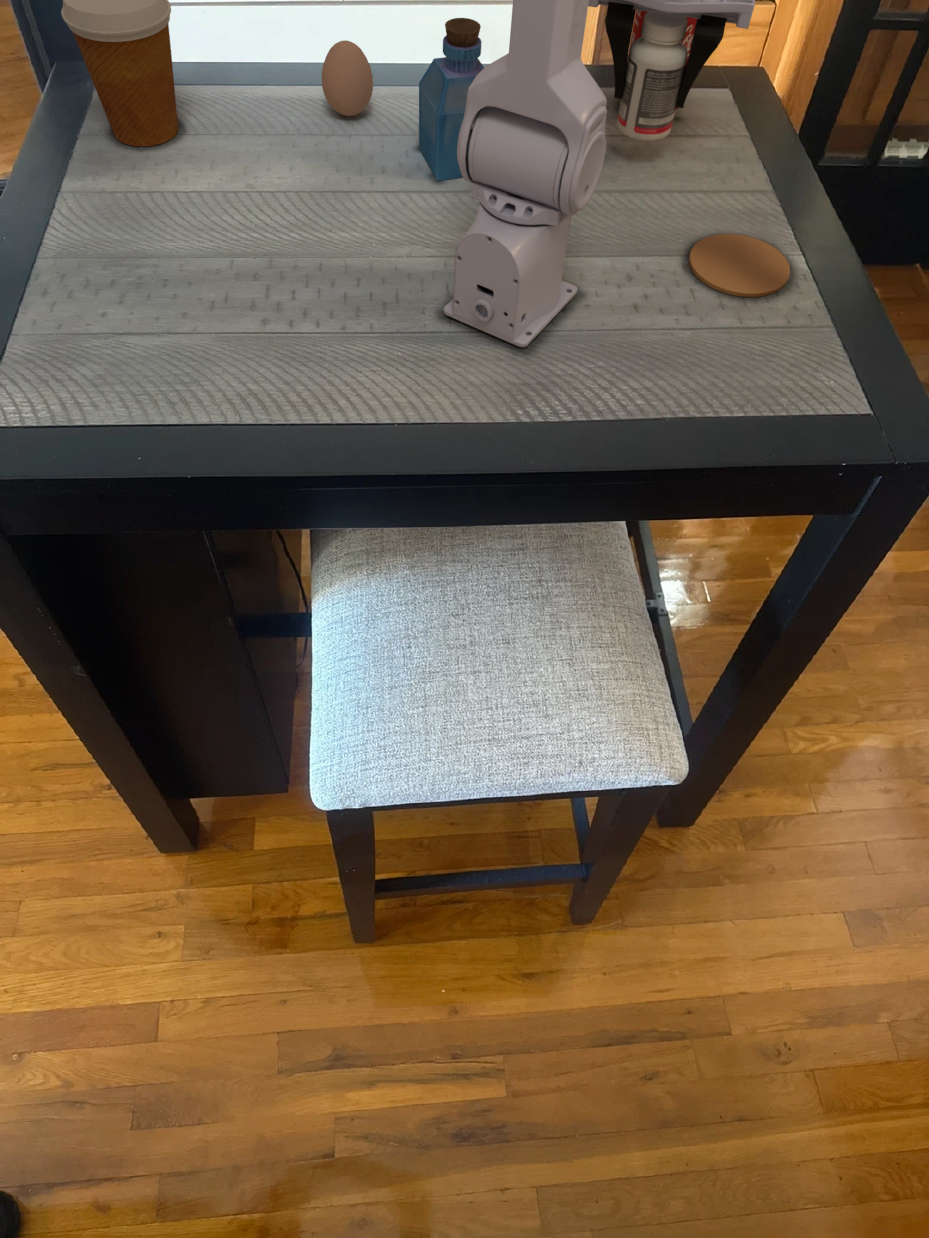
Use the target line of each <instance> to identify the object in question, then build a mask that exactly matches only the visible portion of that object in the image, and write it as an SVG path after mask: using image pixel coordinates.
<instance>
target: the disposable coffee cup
mask: <svg viewBox="0 0 929 1238" xmlns="http://www.w3.org/2000/svg"><path fill="white" fill-rule="evenodd" d="M171 13H172V6H171V3H170V1H169V0H62V8H61V10H60V14H61V17H62V19H63V22H64V23H65V24H66V25H67V27H68V28H69V30H70V31H71V32H72V34H73V37H74V39H75V42H76V44H77V47H78V49H79V51H80V54H81V56H82V59H83V61H84V64H85V66H86V69H87V71H88V74H89V76H90V78H91V81H92V84H93V86H94V89H95V91H96V93H97V96H98V99H99V101H100V103H101V106H102V108H103V112H104V113H105V116H106V118H107V120H108V123H109V126H110V128H111V131H112V133H113V136H114V138H115V139H116V140H117V141H118V142H120V143H122V144H125V145H128V146H133V147H153V146H157V145H161V144H164V143H166V142H168V141H170V140H172V139H173V138H174V137H175V136H176V135H177V134H178V132H179V121H178V113H177V100H176V99H177V98H176V89H175V78H174V70H173V68H174V67H173V58H172V57H173V55H172V47H171V36H170V28H169V27H170V26H169V25H170V24H169V23H170V21H171V20H170V19H171Z"/></svg>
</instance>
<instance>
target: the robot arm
mask: <svg viewBox="0 0 929 1238" xmlns="http://www.w3.org/2000/svg"><path fill="white" fill-rule="evenodd" d="M599 6H606V7H607V8H606V14H605V18H604V26H605V31H606V35H607V39H608V42H609V46H610V51H611V56H612V63H613V71H614V72H613V73H614V96H613V98H614V99H619V100H621V98H622V93H623V87H624V80H625V74H626V68H627V60H628V54H629V48H630V43H631V37H632V32H633V26H634V20H635V15H636V10H640V11H648V12H655V13H662V14H669V15H676V16H683V17H690V18H697V21H696V25H695V30H694V34H693V39H692V43H691V48H690V52H689V57H688V60H687V64H686V67H685V71H684V75H683V80H682V84H681V87H680V91H679V94H678V99H677V103H676V107H678V109H683V108H684V105H685V103H686V100H687V97H688V95H689V93H690V90H691V88H692V86H693V84H694V83H695V81H696V79H697V77H698V75H699V74H700V72H701V71H702V70H703V67H704V66H705V65H706V63H707V62H708V60H709V59H710V57H711V56H712V54H713V53H714V52H715V51H716V50H717V49H718V47H719V45H720V43H721V42H722V40H723V39H724V35H725V29H726V24H734V25H735V26H736V28H738V29H746V30H749V28H750V24H751V20H752V16H753V13H754V9H755V6H756V0H512V8H511V9H512V10H511V11H512V12H511V21H510V34H509V45H508V46H509V47H508V53H506V54H505V55H502V56H501V57H499V58H498V59H496V60H494V61H493V62H491V63H489V64H488V65H486V66H484V69H483V70H482V71H481V72H480V73H479V74H478V75H477V76H476V77H475V79H474V80H473V82H472V84H471V85H470V87H469V88H468V93H467V102H466V109H465V115H464V119H463V122H462V125H461V128H460V132H459V137H458V145H457V159H458V164H459V167H460V171H461V174H462V176H463V179H464V181H466V182H468V183H470V184H471V194H470V195H471V199H474V200H476V201H478V207H477V211H476V215H475V217H474V220H473V222H472V224H471V225H470V228H469V229H468V230H467V232H466V233H465V234H464V235H463V236H462V237H461V239H460V240H459V242H458V243H457V246H456V249H455V254H454V267H453V268H454V270H453V271H454V272H453V295H452V296H453V297H452V299H451V300H450V301H449V302H448V303H447V304H446V305H445V306H444V307H443V314H444V315H445V316H447V317H450V318H451V319H454V320H456V321H459V322H461V323H463V324H466V325H468V326H469V327H472V328H475V329H477V330H479V331H481V332H484V333H486V334H489V335H490V336H492V337H496V338H498V339H499V340H502V341H504V342H506V343H509V344H511V345H514V346H515V347H519V348H526V347H528V346H529V345H530V343H532V342H533V340H534V339H535V338H537V336H538V335H539V334H540V333H541V332H542V331H543V330H544V329H545V328H546V327H547V325H548V324H549V323H550V322H551V321H552V320H553V319H554V318H555V317H556V316H557V315H558V314H559V313H560V312H561V311H562V310H563V308H565V306H566V305H567V304H568V303H569V302H570V301H571V300H572V299H573V298H574V297H575V296H576V295H577V293H578V291H579V290H578V289H579V288H578V287H577V286H576V285H574V284H572V283H570V282H567V281H565V280H562V278H563V270H564V264H565V258H566V252H567V245H568V238H569V233H570V226H571V218H572V216H575V215H577V214H578V213H579V212H580V211H582V210H583V209H584V208H586V206H587V205H588V204H589V202H590V201H591V199H592V197H593V195H594V193H595V191H596V188H597V186H598V184H599V180H600V178H601V174H602V171H603V167H604V162H605V158H606V154H607V153H606V151H607V139H606V120H607V114H608V110H607V103H608V99H607V97H606V95H605V94H604V92H603V90H602V89H601V87H600V86H599V85H598V83H597V82H596V80H595V79H594V77H593V76H592V75H591V73H590V72H589V71H588V69H587V67H586V66H585V64H584V62H583V60H582V52H583V46H584V45H583V44H584V38H585V32H586V31H585V30H586V24H587V16H588V9H589V8H590V7H591V8H598V7H599Z"/></svg>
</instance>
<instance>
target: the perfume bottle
mask: <svg viewBox="0 0 929 1238" xmlns="http://www.w3.org/2000/svg"><path fill="white" fill-rule="evenodd" d="M481 27H482V26H481V23H480V22H478V21H477V20H475V19H472V18H467V17H454V18H451V19H449V20H447V21H445V23H444V28H445V34H446V35H445V36H443V39H442V54H443V55H444V56H445V57H435V58H433V59H432V61H431V63H430V64H429V66H428V68H427V69H426V71H425V72H424V74H423V75H422V77H421V79H420V81H419V82H418V149H419V151H420V153H421V155H422V157H423V159H424V160H425V163H426V164H427V166H428V168H429V169H430V171H431V173H432V175H433V176H434V178H435V180H436V181H437V182H440V181H447V180H455V179H462V178H463V176H462V174H461V171H460V167H459V164H458V159H457V145H458V137H459V132H460V128H461V125H462V122H463V119H464V115H465V109H466V102H467V93H468V88H469V87H470V85H471V84H472V82H473V80H474V79H475V77H476V76H477V75H478V74H479V73H480V72H481V71H482V70H483V69H484V68H485V66H484V65H483V64H482V62H481V60H480V59H479V58H480V57H481V54H482V44H483V43H482V39H481V38H480V37H479V36H480V32H481ZM463 179H464V178H463Z"/></svg>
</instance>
